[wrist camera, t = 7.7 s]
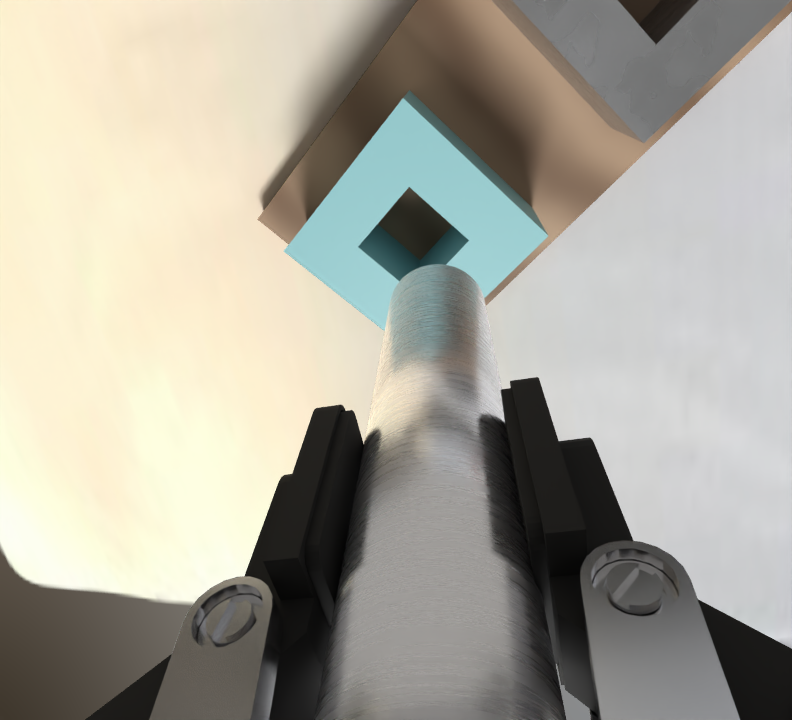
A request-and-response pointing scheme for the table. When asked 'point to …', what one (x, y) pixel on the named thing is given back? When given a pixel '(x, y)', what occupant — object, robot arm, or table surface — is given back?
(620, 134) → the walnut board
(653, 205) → the table surface
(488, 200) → the teal socket
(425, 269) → the lock pin
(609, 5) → the plate
